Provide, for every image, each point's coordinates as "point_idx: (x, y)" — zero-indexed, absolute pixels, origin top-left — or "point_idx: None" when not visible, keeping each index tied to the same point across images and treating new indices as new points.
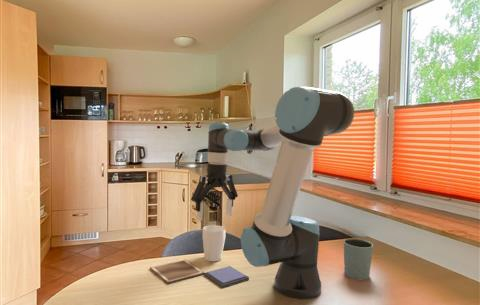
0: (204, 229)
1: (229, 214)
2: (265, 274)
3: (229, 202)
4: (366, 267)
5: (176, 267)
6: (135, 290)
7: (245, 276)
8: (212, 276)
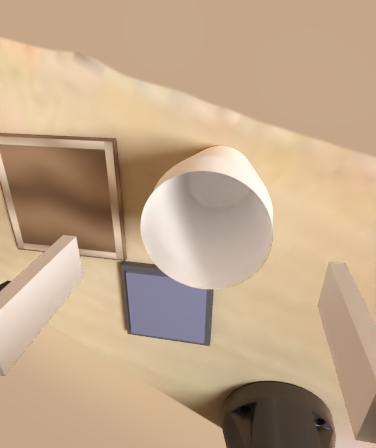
0: (177, 170)
1: (321, 309)
2: (271, 349)
3: (350, 394)
4: None
5: (64, 183)
6: None
7: (201, 342)
8: (128, 293)
